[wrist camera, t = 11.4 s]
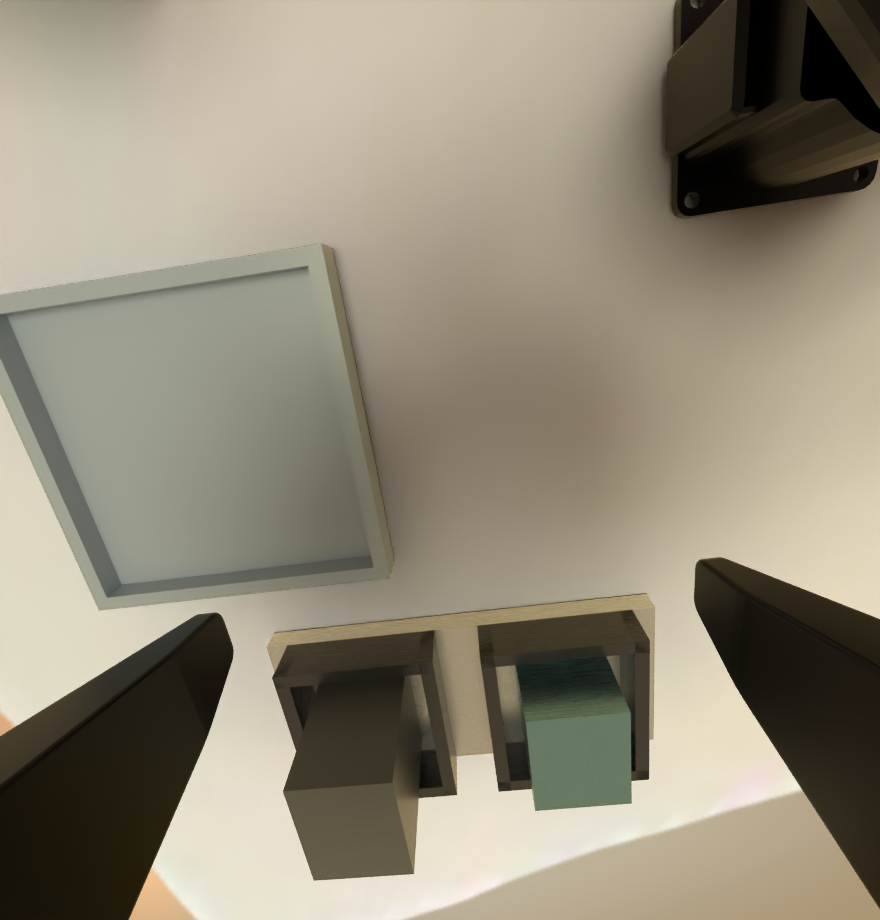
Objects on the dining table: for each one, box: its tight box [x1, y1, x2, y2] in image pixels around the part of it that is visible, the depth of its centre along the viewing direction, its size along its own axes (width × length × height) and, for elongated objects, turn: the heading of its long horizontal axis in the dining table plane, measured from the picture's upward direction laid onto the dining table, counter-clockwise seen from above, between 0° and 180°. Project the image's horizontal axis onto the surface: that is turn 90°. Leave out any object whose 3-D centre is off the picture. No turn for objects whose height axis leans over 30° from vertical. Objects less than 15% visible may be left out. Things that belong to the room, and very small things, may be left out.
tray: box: [0, 244, 394, 610], centre depth 19 cm, size 13×13×2 cm
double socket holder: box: [267, 594, 655, 811], centre depth 22 cm, size 18×8×5 cm, turn 98°
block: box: [283, 676, 422, 880], centre depth 21 cm, size 4×5×6 cm
